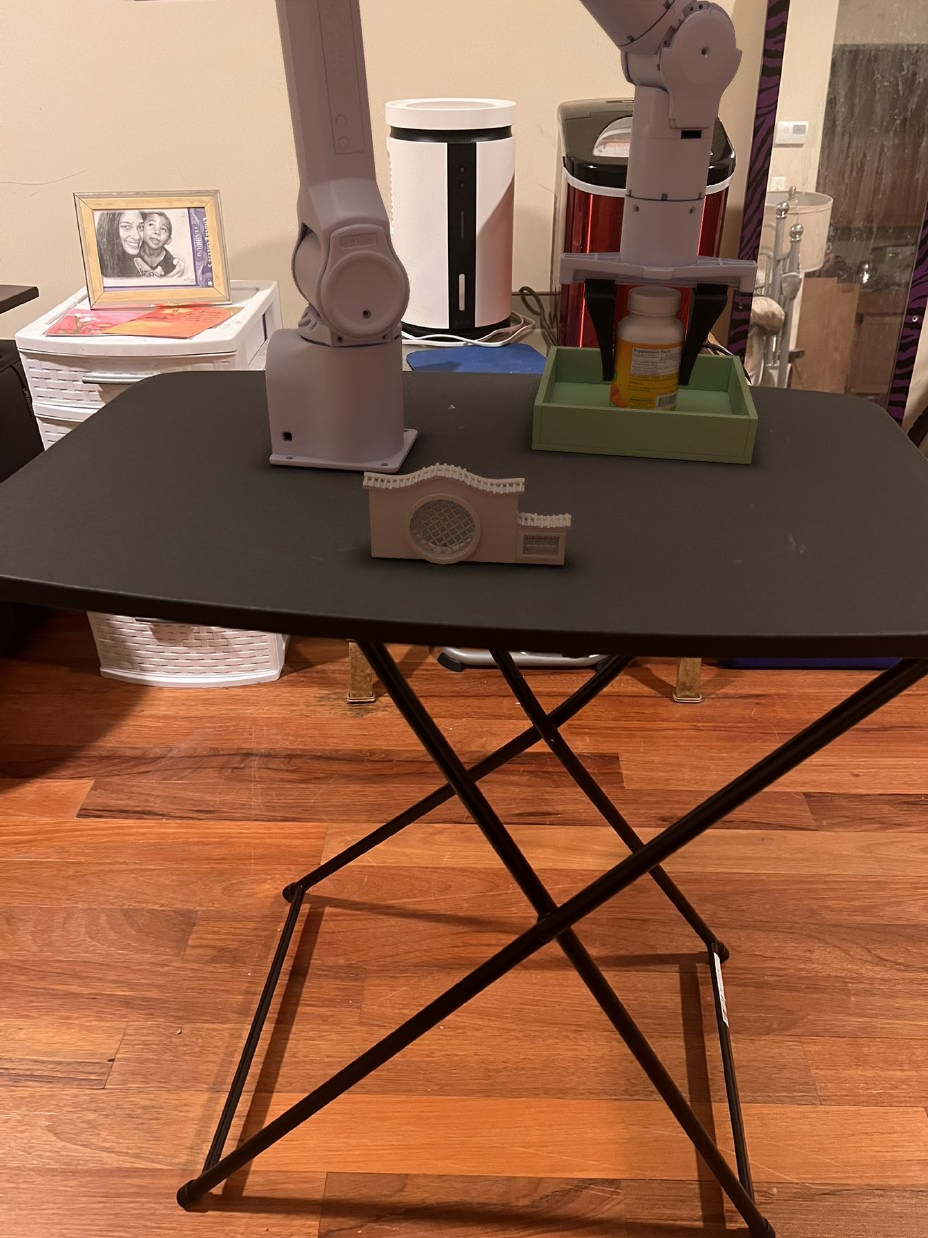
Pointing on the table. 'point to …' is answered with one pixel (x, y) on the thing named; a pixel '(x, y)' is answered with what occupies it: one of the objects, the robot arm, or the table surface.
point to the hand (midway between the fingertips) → (644, 379)
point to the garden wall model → (480, 497)
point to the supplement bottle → (648, 351)
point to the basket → (645, 412)
